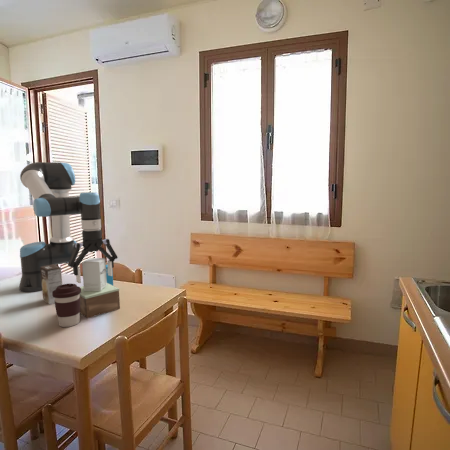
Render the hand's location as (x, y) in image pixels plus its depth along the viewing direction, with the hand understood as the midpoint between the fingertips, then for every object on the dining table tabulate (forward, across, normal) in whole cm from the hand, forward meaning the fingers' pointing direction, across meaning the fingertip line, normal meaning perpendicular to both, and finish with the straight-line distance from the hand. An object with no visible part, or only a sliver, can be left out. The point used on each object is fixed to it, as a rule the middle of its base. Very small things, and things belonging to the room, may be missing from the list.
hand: (95, 278), depth 139 cm
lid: (+5, 0, 0) cm, 5 cm away
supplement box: (+4, 0, 0) cm, 5 cm away
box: (+13, 0, 0) cm, 13 cm away
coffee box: (+14, -10, +25) cm, 30 cm away
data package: (+14, +12, +24) cm, 30 cm away
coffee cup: (+14, -14, -7) cm, 21 cm away
